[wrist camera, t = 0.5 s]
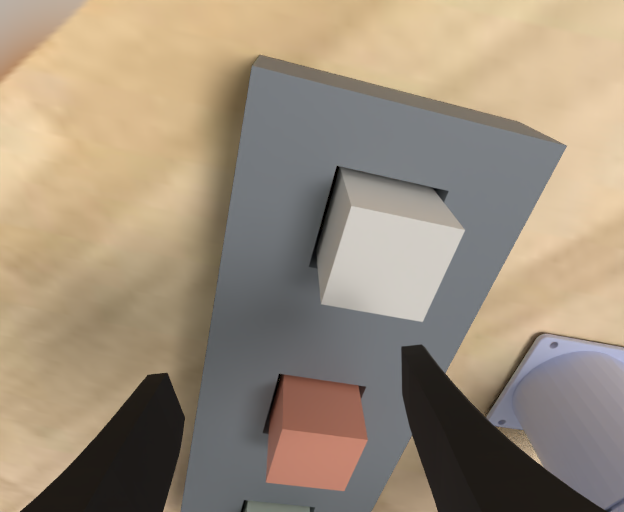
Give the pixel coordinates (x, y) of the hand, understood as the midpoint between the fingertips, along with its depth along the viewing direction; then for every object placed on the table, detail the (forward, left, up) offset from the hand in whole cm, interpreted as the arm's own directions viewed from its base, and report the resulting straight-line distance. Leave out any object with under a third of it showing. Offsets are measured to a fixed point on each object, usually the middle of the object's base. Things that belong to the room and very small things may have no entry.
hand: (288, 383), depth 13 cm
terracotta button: (-3, +8, -7) cm, 11 cm away
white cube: (-3, -3, -7) cm, 8 cm away
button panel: (-3, +8, -10) cm, 13 cm away
